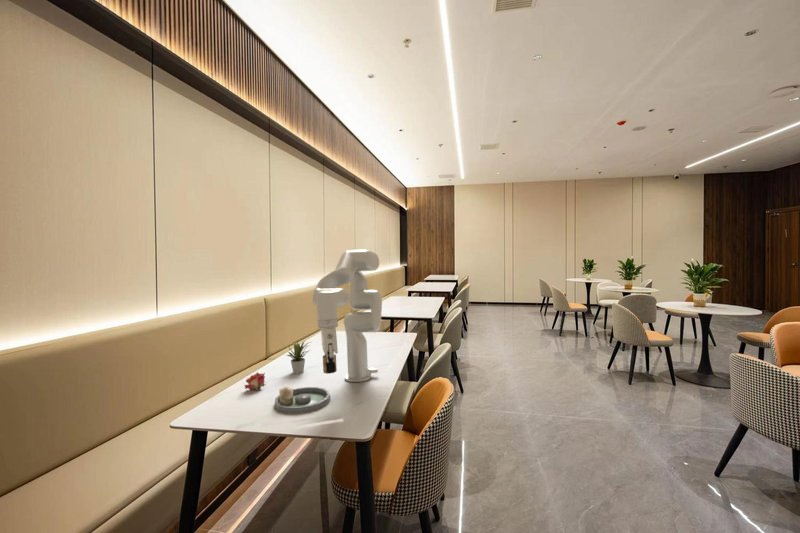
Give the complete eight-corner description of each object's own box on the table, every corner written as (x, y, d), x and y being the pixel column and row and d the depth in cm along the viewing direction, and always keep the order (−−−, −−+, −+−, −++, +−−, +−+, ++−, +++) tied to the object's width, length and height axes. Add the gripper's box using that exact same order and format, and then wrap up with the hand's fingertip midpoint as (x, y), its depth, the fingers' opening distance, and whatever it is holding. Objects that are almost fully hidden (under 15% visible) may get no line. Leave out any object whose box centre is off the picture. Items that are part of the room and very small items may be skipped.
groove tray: (327, 391, 156) (327, 384, 156) (332, 410, 135) (332, 402, 135) (276, 398, 150) (276, 391, 150) (273, 419, 130) (273, 411, 129)
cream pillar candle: (293, 400, 144) (292, 385, 144) (293, 405, 139) (292, 390, 139) (280, 402, 142) (279, 387, 142) (279, 407, 138) (279, 392, 137)
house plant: (320, 369, 186) (319, 338, 185) (300, 378, 174) (298, 344, 174) (301, 366, 193) (300, 336, 193) (280, 373, 182) (279, 341, 181)
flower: (274, 384, 161) (267, 368, 164) (260, 387, 153) (253, 370, 155) (258, 395, 163) (252, 379, 166) (243, 399, 155) (237, 382, 157)
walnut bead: (335, 368, 141) (334, 353, 140) (337, 372, 136) (336, 356, 136) (322, 370, 139) (322, 354, 139) (324, 374, 134) (323, 358, 134)
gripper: (341, 326, 130) (343, 375, 131) (334, 318, 146) (336, 362, 147) (320, 328, 127) (322, 378, 128) (315, 320, 144) (317, 364, 144)
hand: (329, 369), depth 138 cm, fingers closed on walnut bead, 4 cm apart
